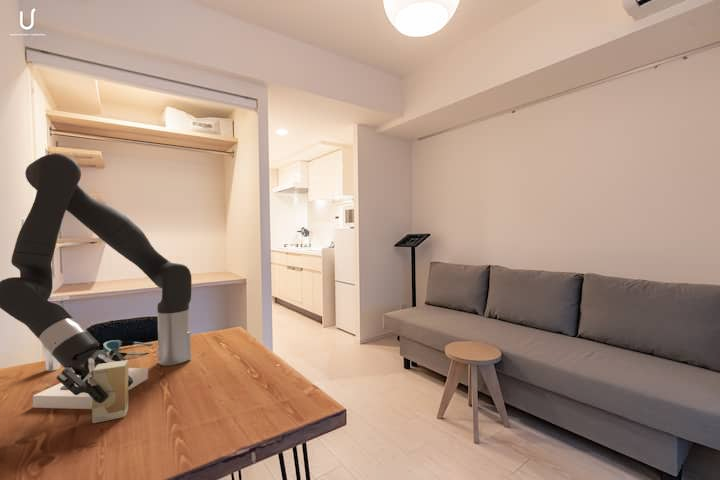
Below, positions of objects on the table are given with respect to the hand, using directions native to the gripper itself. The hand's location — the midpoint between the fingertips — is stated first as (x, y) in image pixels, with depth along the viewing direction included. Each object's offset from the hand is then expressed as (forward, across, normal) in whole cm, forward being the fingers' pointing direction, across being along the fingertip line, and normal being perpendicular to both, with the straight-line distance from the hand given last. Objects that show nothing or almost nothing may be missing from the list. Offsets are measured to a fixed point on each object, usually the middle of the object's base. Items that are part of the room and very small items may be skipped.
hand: (117, 392), depth 75 cm
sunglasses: (-18, +40, +26) cm, 51 cm away
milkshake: (-27, +25, +35) cm, 50 cm away
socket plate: (-7, +11, +16) cm, 21 cm away
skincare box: (+3, 0, +5) cm, 6 cm away
